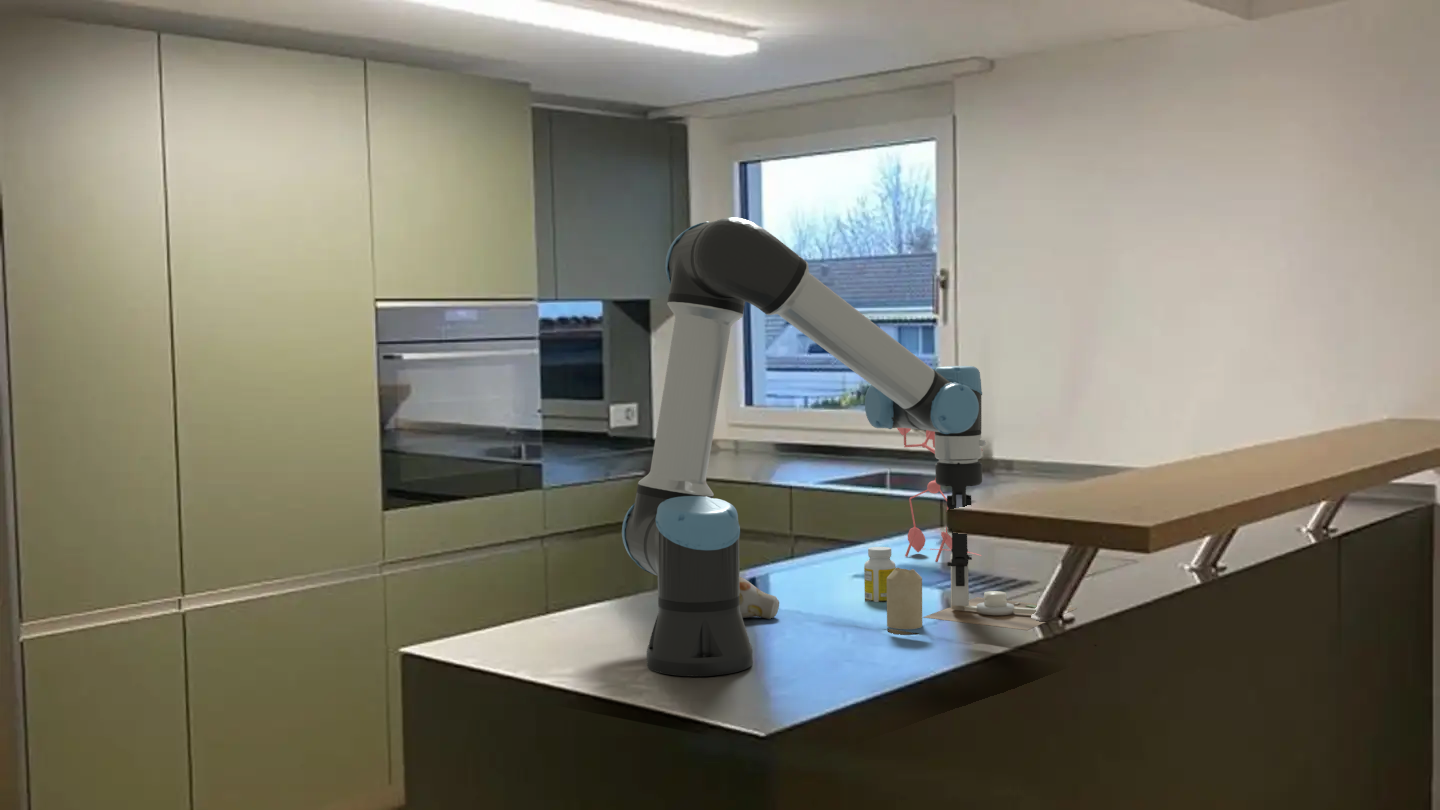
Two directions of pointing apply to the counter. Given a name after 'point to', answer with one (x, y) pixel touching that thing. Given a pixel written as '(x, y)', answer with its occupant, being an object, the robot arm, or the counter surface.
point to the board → (991, 616)
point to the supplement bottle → (877, 573)
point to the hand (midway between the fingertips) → (960, 602)
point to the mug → (756, 601)
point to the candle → (904, 601)
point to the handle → (993, 604)
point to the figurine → (915, 534)
